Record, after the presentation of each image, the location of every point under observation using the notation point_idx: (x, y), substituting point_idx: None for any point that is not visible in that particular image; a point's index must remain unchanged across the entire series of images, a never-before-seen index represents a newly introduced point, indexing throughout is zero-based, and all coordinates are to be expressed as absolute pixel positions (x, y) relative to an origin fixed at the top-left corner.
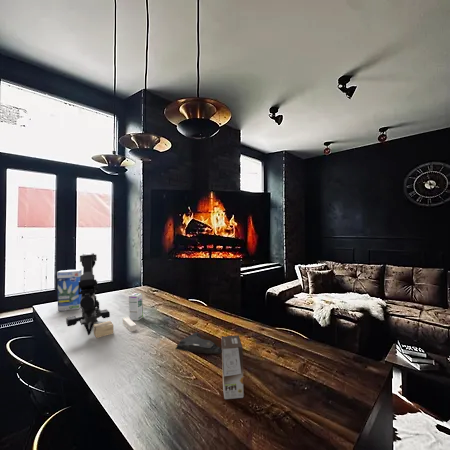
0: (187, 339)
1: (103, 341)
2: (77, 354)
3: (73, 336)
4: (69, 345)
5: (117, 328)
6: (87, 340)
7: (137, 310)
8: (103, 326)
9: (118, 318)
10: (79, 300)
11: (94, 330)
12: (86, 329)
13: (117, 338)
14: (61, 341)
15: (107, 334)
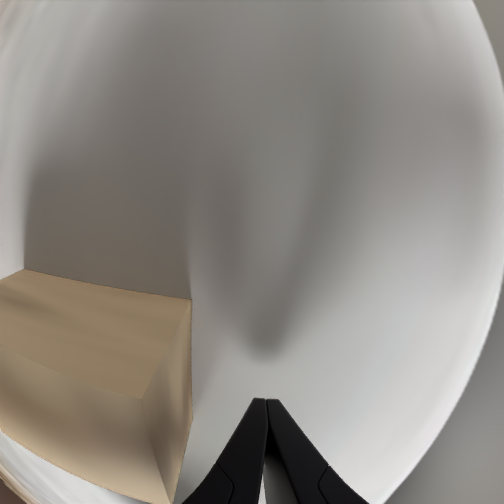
0: None
1: (155, 95)
2: (459, 36)
3: (350, 460)
4: (469, 305)
5: None
6: (312, 306)
7: None
8: (18, 354)
9: (41, 460)
10: None
11: (180, 435)
12: (324, 462)
13: (34, 92)
14: (441, 418)
15: (64, 281)
